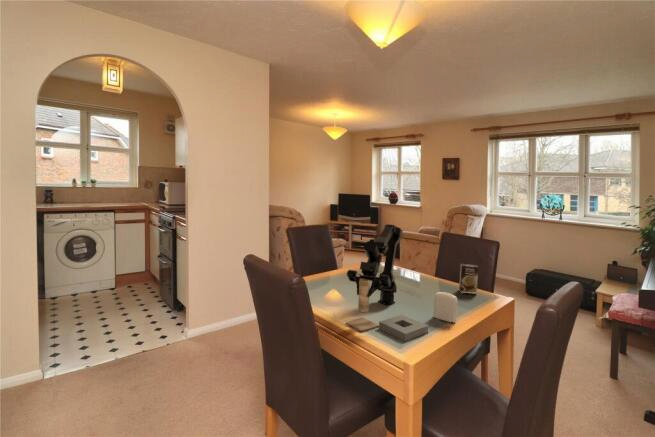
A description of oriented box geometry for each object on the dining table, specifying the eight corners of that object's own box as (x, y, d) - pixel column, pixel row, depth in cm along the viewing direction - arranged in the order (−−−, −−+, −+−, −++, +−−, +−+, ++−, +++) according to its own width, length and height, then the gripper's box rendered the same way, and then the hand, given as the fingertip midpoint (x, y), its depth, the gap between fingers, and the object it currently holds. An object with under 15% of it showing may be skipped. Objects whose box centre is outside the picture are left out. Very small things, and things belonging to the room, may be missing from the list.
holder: (378, 328, 140) (379, 321, 140) (401, 321, 149) (401, 314, 148) (405, 341, 129) (405, 333, 129) (427, 332, 138) (428, 325, 137)
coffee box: (459, 293, 192) (461, 265, 190) (458, 290, 198) (460, 263, 196) (476, 295, 189) (478, 267, 187) (475, 292, 195) (477, 264, 194)
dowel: (357, 308, 144) (358, 278, 142) (367, 308, 144) (368, 278, 143) (359, 312, 139) (360, 281, 138) (369, 311, 140) (371, 281, 139)
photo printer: (431, 317, 154) (433, 291, 153) (435, 315, 157) (437, 289, 156) (453, 324, 147) (455, 296, 146) (457, 321, 150) (459, 294, 149)
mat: (345, 324, 144) (345, 322, 143) (362, 319, 150) (362, 317, 149) (361, 332, 136) (361, 330, 136) (378, 327, 142) (378, 325, 142)
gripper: (349, 251, 147) (337, 282, 139) (390, 256, 139) (380, 289, 130) (355, 265, 155) (344, 295, 146) (394, 271, 146) (385, 303, 138)
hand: (362, 295), depth 140 cm, fingers closed on dowel, 4 cm apart
